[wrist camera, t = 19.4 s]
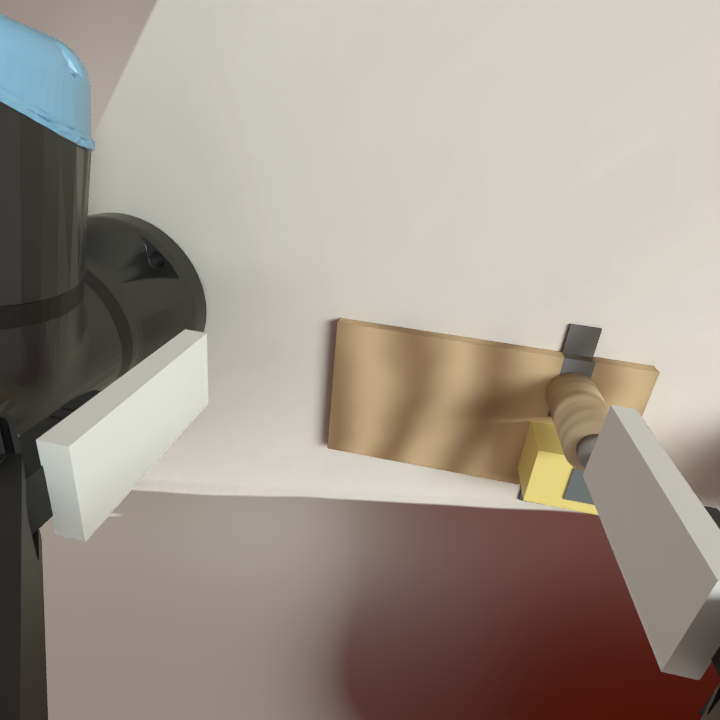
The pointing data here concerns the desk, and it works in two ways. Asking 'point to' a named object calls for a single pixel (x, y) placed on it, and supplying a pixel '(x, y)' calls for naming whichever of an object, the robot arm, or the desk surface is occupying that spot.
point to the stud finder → (551, 472)
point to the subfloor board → (459, 394)
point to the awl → (576, 415)
